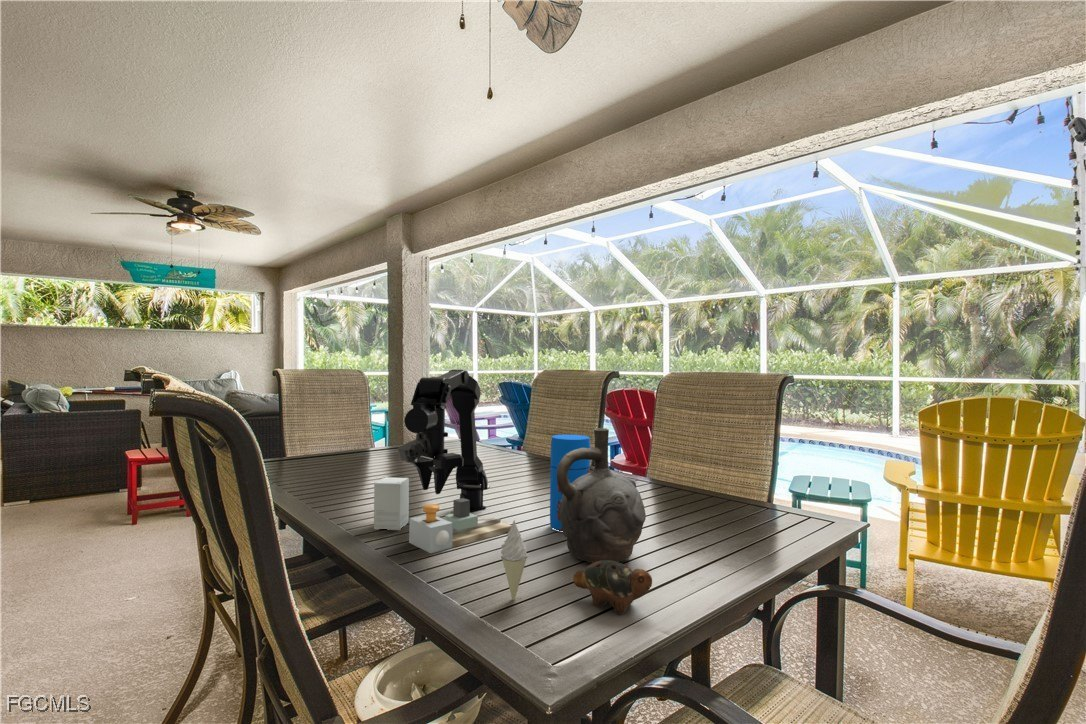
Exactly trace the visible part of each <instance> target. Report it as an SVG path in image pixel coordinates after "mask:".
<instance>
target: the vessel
mask: <svg viewBox="0 0 1086 724" xmlns="http://www.w3.org/2000/svg"><path fill="white" fill-rule="evenodd" d="M593 429H594V430H593V432H594V448H591V447H590V448H580V449H576V450H573V451H571V452H569V453H567V454H566V455H565V456H564V457H563V458H562V460H561V461H560V463H559V465H558V469H557V483H558V486H559V488H560V490H561V491H562V493H563V496H562V500H561V501H560V504H559V510H558V511H559V516H560V519H561V525H562V529H563V532H564V533H563V535H564V537H565V539H566V547H567V549H568V551H569V552H568V553H570V554H571V555H572V556H573V557H574V558H577V560H578V559H579V560H581V561H584V562H588V563H591V564H592V563H594V562H597V561H602V560H611V561H616V562H619V563H620V562H624V561H626V560H628V559H629V558H630V557H631V556H632V554H633V550H634V546H635V545H636V543H637V542H638V541H639V538H640V537H641V535H642V532H643V526H644V524H645V522H646V515H647V514H646V509H645V505H644V502H643V498H642V496H641V493H640V491H639V490H638V489H637V484H636V482H635V480H633V479H631V478H629V477H627V476H625V475H621V474H618V473H614V472H612V470H611V469H610V467H609V436H610V435H609V429H608V428H605V427H603V428H602V427H601V428H599V427H597V428H593ZM583 459H588V460H590V461H594V468H593V470H592V471H590V473H588V474H585V475H583V476H581V477H579V478H577V479H576V480H575V481H574V482H573V483H570V482H569V480H568V470H569V468H570V466H571V465H572V464H573V463H574V462H575V461H577V460H583Z"/></svg>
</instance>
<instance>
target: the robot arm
mask: <svg viewBox="0 0 1086 724" xmlns="http://www.w3.org/2000/svg"><path fill="white" fill-rule="evenodd" d="M481 392H482V391H481V387H480V385H479V382H478V381H477V380H476V379H475V378H474V377H472V376H471V375H470V374H469V372H468V370H465V369H451V370H448V372H445V373H443V374H441V375H439V376H436V377H426V376H425V377H421V378H420V379H419V381H418V382H417V384H416V387H415V390H414V393H413V395H412V399H411V402H410V406H412V408H411V409H409V410H408V412H406V414H405V417H404V426H405V427H406V429H407V430H408V431H409V432H410V433H412V434H415V435H416V436H415V437H416V438H415V439H413V440H411V441H409V442H406V443H404V444H402V445H400V446H398V447H397V448H396V449H397V452H398V455H399V458H400V461H402V462H403V461H404V462H406V463H409V464H411V465H412V466H413V467H415V468H416V470H417V473H418V476H419V480H420V483H421V486H422V489H423V491H427V490H428V489H429V487H430V483H431V479H432V476H433V482H434V492H435V495H440V494H441V493H442V491H443V488H444V487H445V484H447V482H448V481H447V480H448V478H449V477H450V476H451V473H452V472H453V470H454V469H455V470H456V471H455V483H456V490H460V495H459V499H461V498H464V499H467V500H470V513H471V512H475V511H481V510H484V509H487V506H485V505H484V491H486V490H488V486H489V485H488V484H489V482H488V478H487V474H486V471H485V470H484V464H483V461H482V460H481V459H480V458H479V456H478V451H477V435H476V434H477V433H476V432H477V431H476V417H475V416H476V414H475V411H476V409H477V407H478V406H479V404H480V399H481V394H482V393H481ZM449 398H450V399H451V404H452V408H454V410H455V411H456V412H457V414H458V423H459V440H460V454H459V453H454V452H449V453H448V448H445V438H446V437H447V438H448V437H449V433H448V431H447V432H446V431H445V428H446V427H445V426H446V424H445V423H446V420H445V418H446V409H447V405H446V404H447V403H448V400H449ZM432 474H433V475H432Z"/></svg>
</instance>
